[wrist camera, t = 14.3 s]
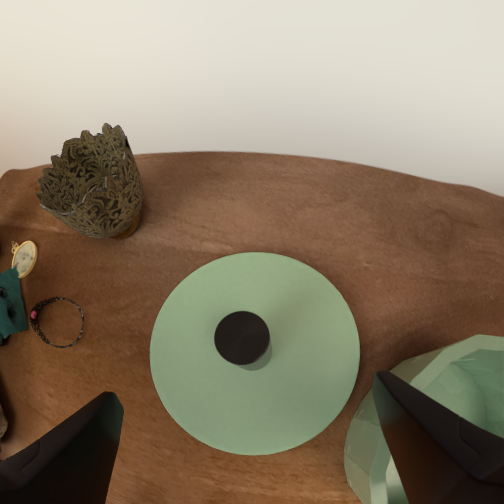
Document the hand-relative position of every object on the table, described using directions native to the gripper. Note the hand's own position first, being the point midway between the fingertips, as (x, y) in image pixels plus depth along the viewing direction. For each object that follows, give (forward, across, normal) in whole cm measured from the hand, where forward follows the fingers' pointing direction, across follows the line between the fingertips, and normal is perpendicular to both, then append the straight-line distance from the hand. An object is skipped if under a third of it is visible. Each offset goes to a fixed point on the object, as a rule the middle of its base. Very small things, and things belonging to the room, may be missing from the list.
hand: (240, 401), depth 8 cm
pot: (+2, -11, +10) cm, 15 cm away
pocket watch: (+15, +23, -2) cm, 28 cm away
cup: (+16, +10, -4) cm, 19 cm away
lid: (+8, 0, +4) cm, 8 cm away
